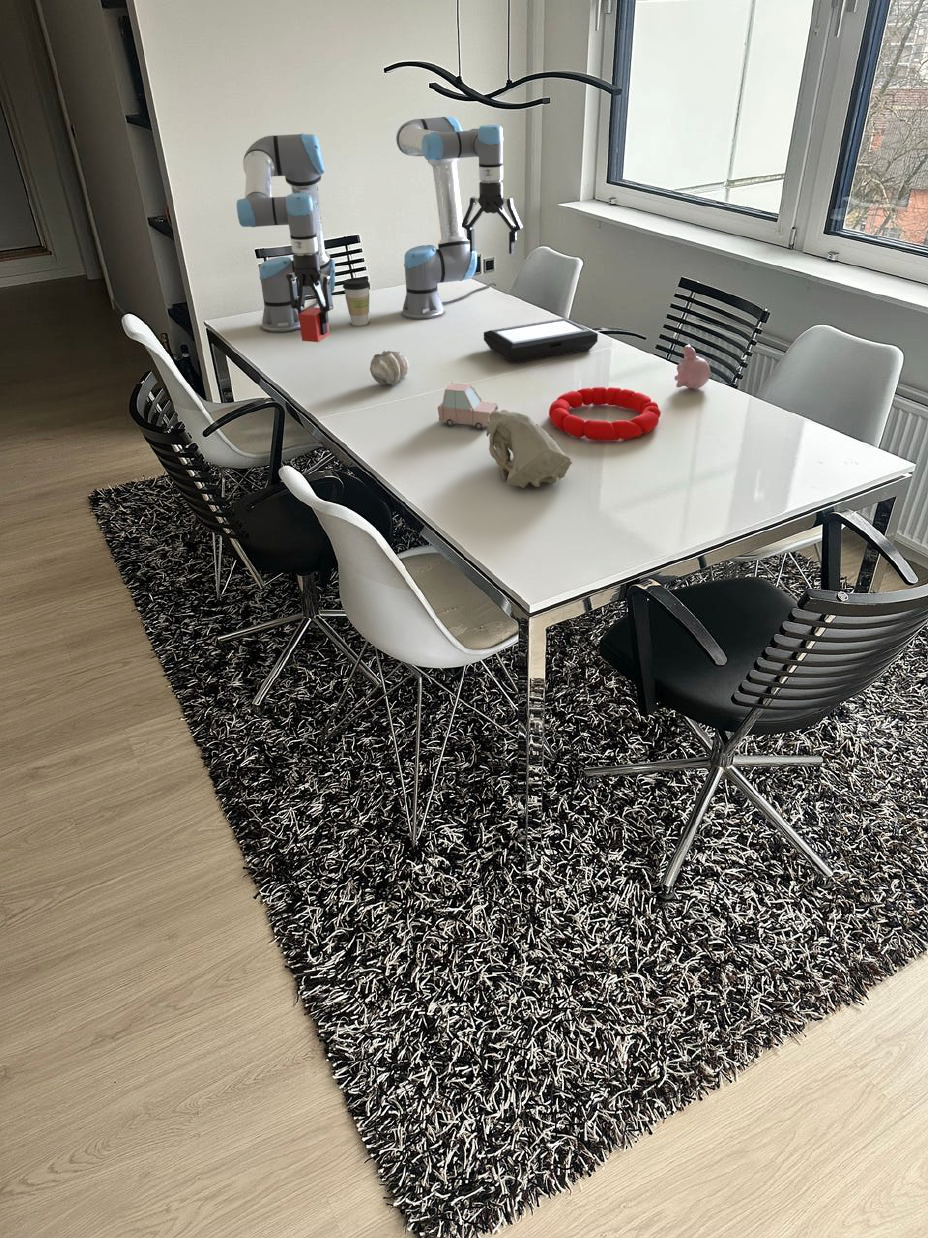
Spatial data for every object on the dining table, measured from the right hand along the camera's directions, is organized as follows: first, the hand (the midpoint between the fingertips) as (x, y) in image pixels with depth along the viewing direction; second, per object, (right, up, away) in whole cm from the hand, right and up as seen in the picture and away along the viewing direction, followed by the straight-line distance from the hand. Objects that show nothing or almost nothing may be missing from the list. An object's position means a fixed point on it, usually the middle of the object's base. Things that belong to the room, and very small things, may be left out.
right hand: (491, 251), depth 294 cm
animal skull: (+5, -85, -74) cm, 112 cm away
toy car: (-8, -67, -48) cm, 83 cm away
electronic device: (+16, -32, +2) cm, 36 cm away
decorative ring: (+29, -67, -50) cm, 89 cm away
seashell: (-31, -49, -21) cm, 62 cm away
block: (-54, -35, -22) cm, 68 cm away
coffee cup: (-47, -13, +33) cm, 59 cm away
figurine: (+58, -53, -31) cm, 85 cm away
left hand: (-55, -34, -23) cm, 68 cm away
